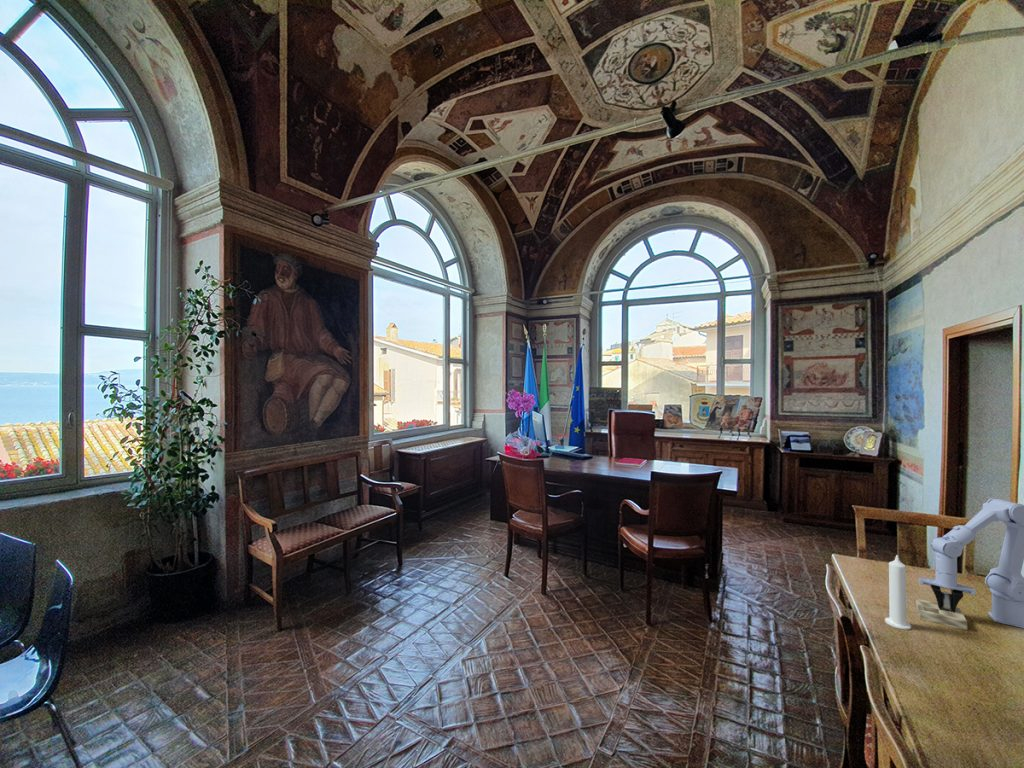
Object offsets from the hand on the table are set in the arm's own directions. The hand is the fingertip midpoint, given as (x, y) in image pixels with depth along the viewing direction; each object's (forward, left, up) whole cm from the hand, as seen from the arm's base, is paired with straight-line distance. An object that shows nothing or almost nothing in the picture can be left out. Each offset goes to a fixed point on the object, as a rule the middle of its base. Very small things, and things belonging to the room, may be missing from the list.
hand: (946, 608), depth 158 cm
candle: (+15, +18, -3) cm, 24 cm away
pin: (0, 0, -3) cm, 3 cm away
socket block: (+2, +2, -3) cm, 4 cm away
